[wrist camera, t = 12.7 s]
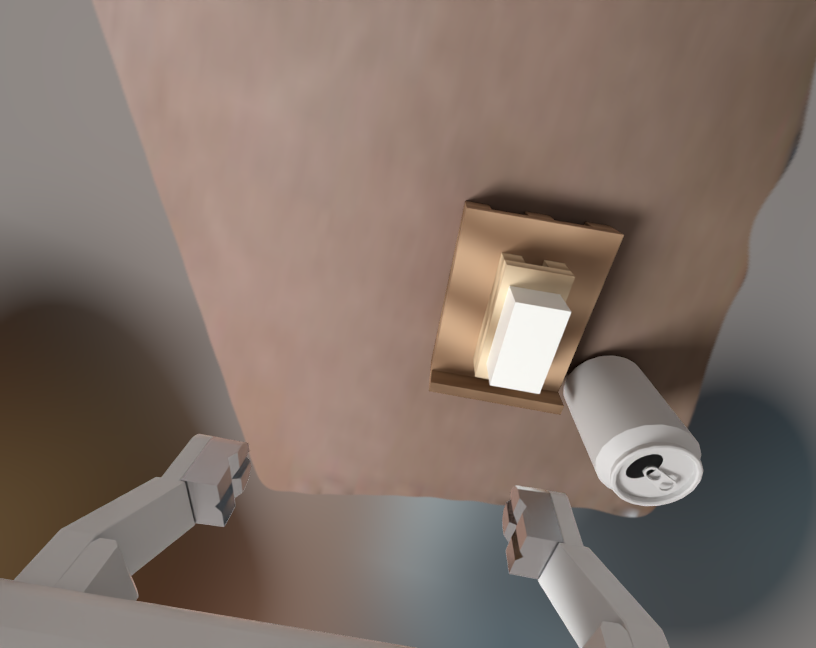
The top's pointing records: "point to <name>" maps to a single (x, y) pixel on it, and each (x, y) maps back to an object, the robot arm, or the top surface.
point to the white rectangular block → (526, 339)
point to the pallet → (524, 276)
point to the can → (632, 432)
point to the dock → (472, 284)
